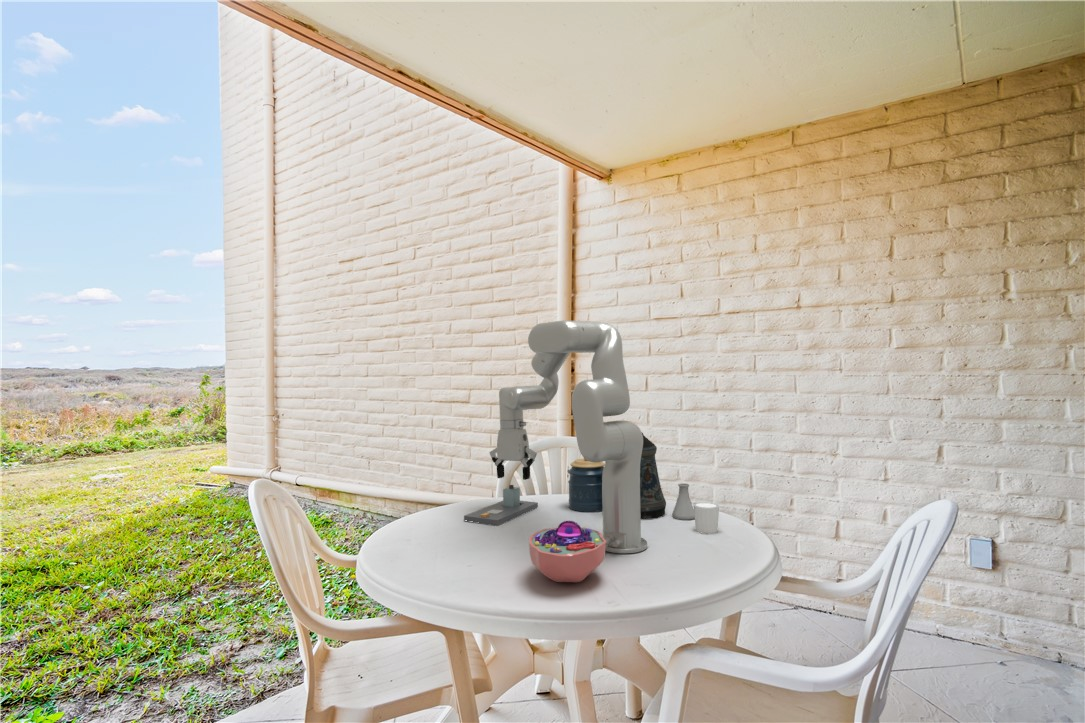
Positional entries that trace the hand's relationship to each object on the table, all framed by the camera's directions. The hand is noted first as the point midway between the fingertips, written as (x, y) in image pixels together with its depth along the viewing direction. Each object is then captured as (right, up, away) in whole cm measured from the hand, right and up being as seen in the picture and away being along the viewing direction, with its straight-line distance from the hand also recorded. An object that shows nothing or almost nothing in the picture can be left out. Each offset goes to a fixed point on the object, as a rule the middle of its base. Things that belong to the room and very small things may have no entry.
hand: (513, 478), depth 179 cm
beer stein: (+39, -10, -7) cm, 41 cm away
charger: (-1, -10, 0) cm, 10 cm away
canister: (+24, -10, +2) cm, 26 cm away
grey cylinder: (+55, -9, -26) cm, 61 cm away
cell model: (+15, -9, -59) cm, 62 cm away
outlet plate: (-3, -10, -5) cm, 12 cm away
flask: (+52, -9, -12) cm, 54 cm away
